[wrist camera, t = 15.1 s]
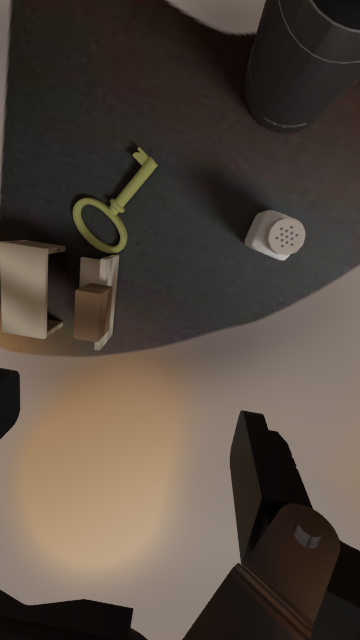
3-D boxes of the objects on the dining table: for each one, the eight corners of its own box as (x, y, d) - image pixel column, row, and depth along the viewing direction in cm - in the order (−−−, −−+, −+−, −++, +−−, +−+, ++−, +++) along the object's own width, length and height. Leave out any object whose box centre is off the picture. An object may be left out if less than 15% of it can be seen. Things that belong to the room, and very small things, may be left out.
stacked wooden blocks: (83, 249, 37) (45, 256, 28) (126, 256, 37) (103, 265, 28) (79, 329, 40) (44, 358, 31) (119, 336, 40) (95, 367, 31)
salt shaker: (256, 211, 34) (276, 204, 25) (288, 224, 35) (319, 223, 26) (241, 244, 36) (255, 249, 27) (272, 257, 36) (296, 266, 27)
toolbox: (25, 239, 37) (-1, 241, 32) (65, 246, 37) (45, 249, 32) (25, 319, 40) (2, 331, 36) (62, 325, 40) (44, 338, 36)
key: (162, 161, 34) (160, 157, 32) (120, 259, 38) (115, 261, 36) (104, 130, 34) (98, 123, 31) (67, 232, 37) (59, 233, 35)
